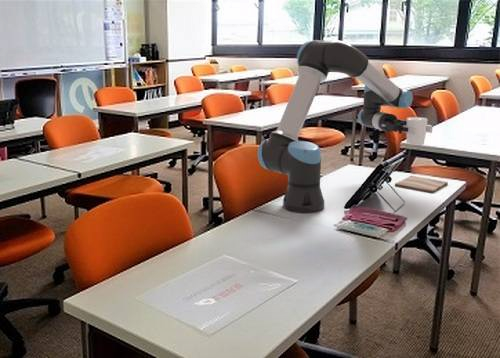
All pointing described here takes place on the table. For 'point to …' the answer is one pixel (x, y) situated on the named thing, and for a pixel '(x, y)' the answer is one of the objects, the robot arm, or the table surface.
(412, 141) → the white cup
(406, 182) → the walnut board
